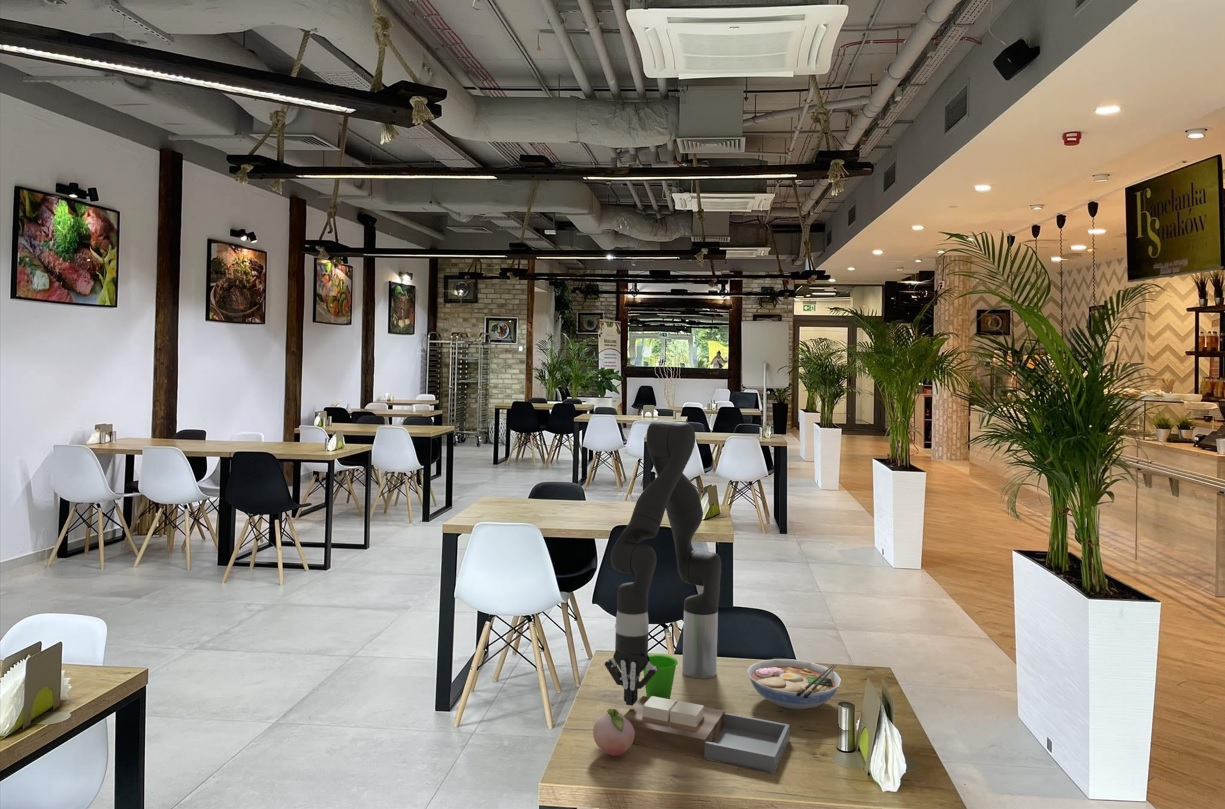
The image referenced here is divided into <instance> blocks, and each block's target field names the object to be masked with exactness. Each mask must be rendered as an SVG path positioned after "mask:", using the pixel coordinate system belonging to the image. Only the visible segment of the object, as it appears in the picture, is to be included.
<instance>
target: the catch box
mask: <svg viewBox="0 0 1225 809" xmlns="http://www.w3.org/2000/svg"><path fill="white" fill-rule="evenodd" d="M790 727H791V725H790V724H788V723H782V722H777V721H771V720H767V719H761V718H756V717H751V716H747V715H746V716H744V715H739V714H734V713H729V712H725V713H724V727H723V729H722V730H721V732H720V733H719V735H718V736H717V738H716V739H715V741H714V742H708V741H705V750H704V758H703V759H704V760H707V761H712V762H716V763H721V764H727V765H732V766H736V767H741V768H746V769H751V770H756V771H759V772H764V773H768V774H769V773H770V774H774V775H775V773H776V771H777V769H778V768H779V764H780V762H781V760H782V757H783V755H784V753H785V751H786V748H787V746H788V743H789V741H790Z"/></svg>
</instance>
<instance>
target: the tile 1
mask: <svg viewBox="0 0 1225 809" xmlns="http://www.w3.org/2000/svg"><path fill="white" fill-rule="evenodd" d="M677 702H678V701H677V700H675V699H671V698H670V699H665V698H660V697H655V696H651V697H650V699H649V700H648V701H647V702H646V703H645V704H644V705H643V717H647V718H652V719H657V720H662V721H667V722H668V721H669V720H670V711H671V709H672V708H673V707H674V706H675V705H676V704H677Z"/></svg>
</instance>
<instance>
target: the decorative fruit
mask: <svg viewBox="0 0 1225 809" xmlns="http://www.w3.org/2000/svg"><path fill="white" fill-rule="evenodd" d="M592 730H593V731H592V734H593V739H594V743H595V744H596V746H597V747H598V748H599V749H600V750H602V751H603V752H605V753H606V754H608V755H610V756H612V757H617V756H620V755H623V754H624V753H626V752H627V751H628V750H629V749H630V748H631V746H632V745H633V744H634V743H633V741H634V737H635V731H634V728H633V726H632V724H631V723H630V721H629V720H627V719H626V718H625V717H624V714H622V713H620V712H619V711H618V710H617V709H615V708H609V709H607V710H606V713H604V714H603V715H600V716H599V717H598V718H597V719H596V721H595V722H594V724H593V728H592Z"/></svg>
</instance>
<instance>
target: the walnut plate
mask: <svg viewBox="0 0 1225 809" xmlns="http://www.w3.org/2000/svg"><path fill="white" fill-rule="evenodd" d="M649 699H650V697H647V695H642V696H641V697H640V698H639V699H637V702H636V703H635V704H634V705H633V706H631V708H630V709H629V710H627V712H626V713H625V714H623V716H624V717H625V718H626V719H627V720H629V721H630V723H631V724H632V726H633V728H634V731H635V737H634V741H633V743H632V744H635V745H638V746H639V745H640V746H644V747H648V748H649V747H650V748H653V749H657V750H658V749H659V750H663V751H669V752H672V753H677V754H682V755H687V756H692V757H696V758H701V759H704V750H705V741H708V742H714V741H715V739H716V738H717V736H718V735H719V733H720V732H721V730H722V729H723V727H724V713H726V711H725V710H722V709H716V708H711V707H706V706H704V717H703V718H702V720H701V721H700V722H699V724H698V725H697V727H693V726H687V725H682V724H677V723H672V722H670V720H669V721H668V722H667V721H662V720H657V719H652V718H647V717H643V705H644V704H645V703H646V702H647V701H648V700H649Z"/></svg>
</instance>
